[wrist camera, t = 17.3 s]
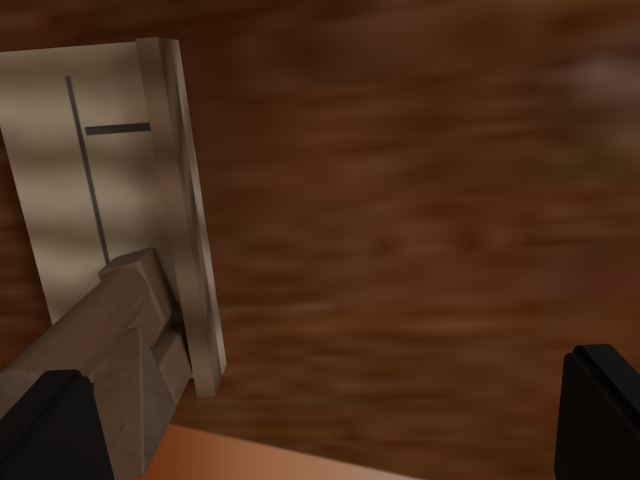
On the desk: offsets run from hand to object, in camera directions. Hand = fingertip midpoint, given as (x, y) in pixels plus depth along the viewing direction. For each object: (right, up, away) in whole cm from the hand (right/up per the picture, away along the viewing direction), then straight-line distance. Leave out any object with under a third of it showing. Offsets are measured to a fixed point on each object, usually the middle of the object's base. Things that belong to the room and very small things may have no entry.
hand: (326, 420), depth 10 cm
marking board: (-17, +5, +34) cm, 38 cm away
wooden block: (-14, -2, +34) cm, 37 cm away
